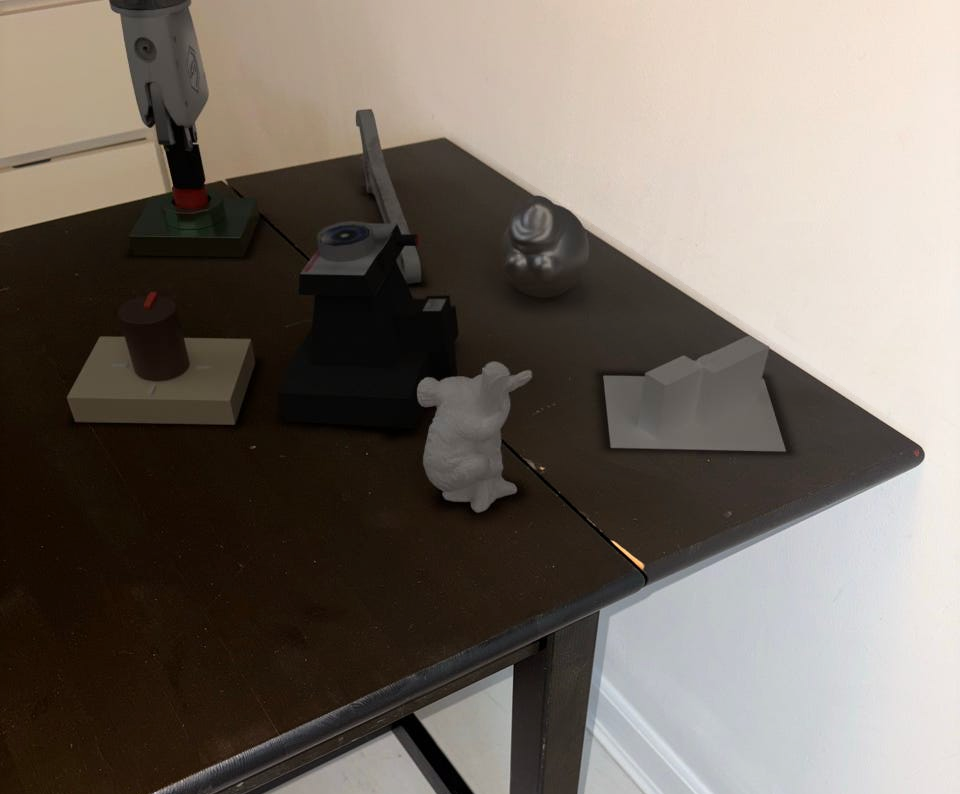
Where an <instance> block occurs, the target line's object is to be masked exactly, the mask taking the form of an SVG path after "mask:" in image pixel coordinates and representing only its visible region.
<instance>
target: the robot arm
mask: <svg viewBox="0 0 960 794" xmlns="http://www.w3.org/2000/svg"><path fill="white" fill-rule="evenodd" d="M108 2H109V6H110V9H111V11H112V12H113V13H115V14H118V15H119V16H120V23H121V24H120V25H121V29H122V30H121V31H122V36H123V43H124V47H125V52H126V58H127V64H128V69H129V75H130V77H131V83H132V88H133V92H134V97H135V101H136V104H137V109H138V112H139V115H140V118H141V121H142V123H143V124H144V126H146V127H147V128H149V129H151V128H152V129H153V127H155V133H156V139H157V143H158V145H159V146H162V147H163V150H164V152H165V156H166V162H167V165H168V166H167V167H168V171H169V175H170V178H171V183H172V187H173V186H174V188H176V189H201V188H202V187H203V184H206V180H207V179H206V175H205V170H204V164H203V159H202V154H201V149H200V145H199V143H198V132H197V125H196V121H197V120H198V118H199V117H200V115H201V113H202V112H203V110H204V108H205V106H206V105H207V102H208V100H209V96H210V95H209V94H210V93H209V92H210V91H209V87H208V82H207V76H206V72H205V68H204V63H203V60H202V59H203V58H202V53H201V50H200V46H199V42H198V38H197V33H196V28H195V25H194V21H193V18H192V15H191V11H190V6H191V5H192V0H108Z"/></svg>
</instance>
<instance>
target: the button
mask: <svg viewBox="0 0 960 794" xmlns="http://www.w3.org/2000/svg"><path fill="white" fill-rule="evenodd" d="M206 188H207V186H206V183H204V184H203V187H202V188H201V189H176V188H174V186H173V185H172V187H171V192H172V193H173V197H174V202H175V206H177V207H180V208H196V207H201V206H203V205H205V204H207V203H209V200H208V195H207V190H206Z"/></svg>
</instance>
